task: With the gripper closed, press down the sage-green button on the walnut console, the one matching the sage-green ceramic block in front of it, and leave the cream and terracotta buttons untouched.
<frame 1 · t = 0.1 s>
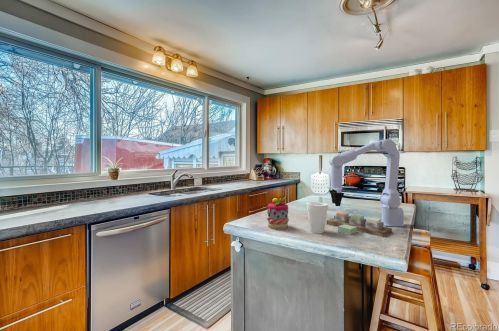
hand: (336, 204, 133), 10 cm above the countertop, tool pointing down, fingers open, 7 cm apart
foam cup: (316, 231, 119), on the countertop
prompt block: (347, 231, 118), on the countertop
cream button: (374, 222, 118), point 5 cm above the countertop, slide at 0.0 cm
terracotta button: (342, 216, 130), point 5 cm above the countertop, slide at 0.0 cm
button console: (357, 228, 125), on the countertop
cake: (277, 226, 127), on the countertop
sage button: (357, 218, 124), point 5 cm above the countertop, slide at 0.0 cm
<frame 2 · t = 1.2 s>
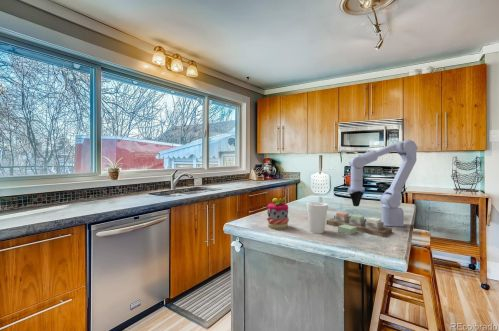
hand: (356, 206, 132), 9 cm above the countertop, tool pointing down, fingers closed
nothing on the countertop moved.
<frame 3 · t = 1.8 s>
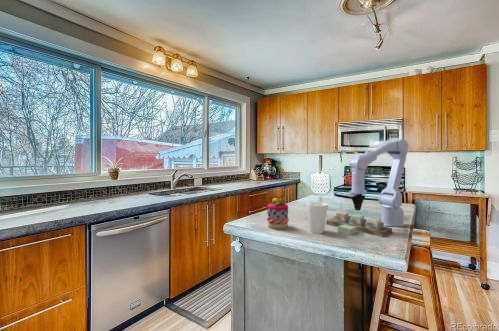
hand: (357, 209, 124), 9 cm above the countertop, tool pointing down, fingers closed
nothing on the countertop moved.
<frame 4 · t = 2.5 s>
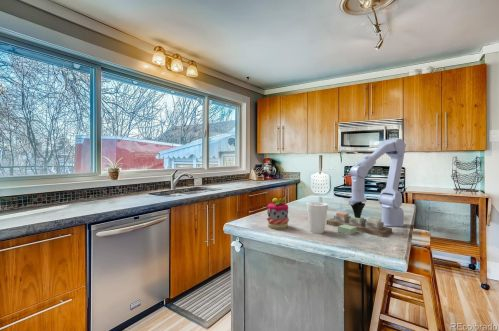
hand: (357, 217, 124), 5 cm above the countertop, tool pointing down, fingers closed, pressing on sage button
sage button: (357, 220, 124), point 4 cm above the countertop, slide at 0.8 cm, touching gripper
everything else where it was.
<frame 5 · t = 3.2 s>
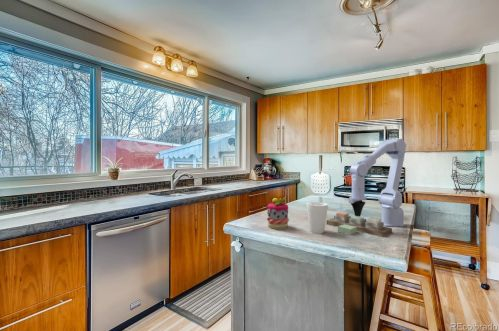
hand: (357, 216, 124), 6 cm above the countertop, tool pointing down, fingers closed
sage button: (357, 220, 124), point 4 cm above the countertop, slide at 0.9 cm
everything else where it was.
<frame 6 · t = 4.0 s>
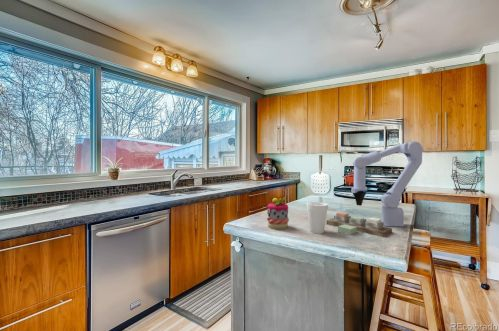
hand: (359, 205, 134), 9 cm above the countertop, tool pointing down, fingers closed
nothing on the countertop moved.
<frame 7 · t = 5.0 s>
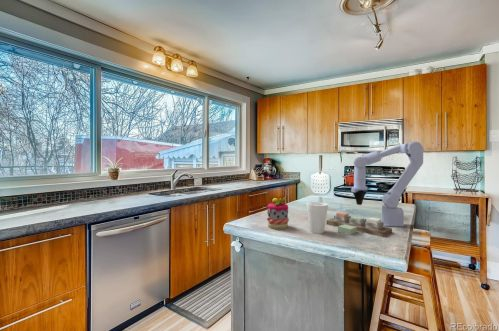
hand: (359, 204, 136), 9 cm above the countertop, tool pointing down, fingers closed
nothing on the countertop moved.
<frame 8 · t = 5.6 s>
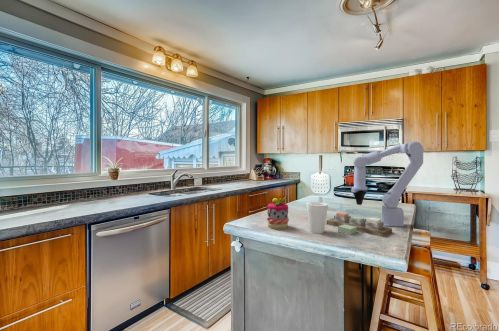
hand: (359, 204, 136), 9 cm above the countertop, tool pointing down, fingers closed
nothing on the countertop moved.
at the end: sage button slide at 0.9 cm; cream button slide at 0.0 cm; terracotta button slide at 0.0 cm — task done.
